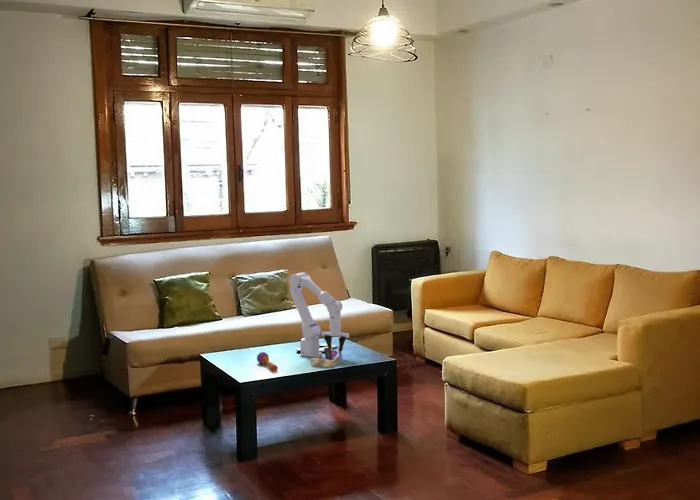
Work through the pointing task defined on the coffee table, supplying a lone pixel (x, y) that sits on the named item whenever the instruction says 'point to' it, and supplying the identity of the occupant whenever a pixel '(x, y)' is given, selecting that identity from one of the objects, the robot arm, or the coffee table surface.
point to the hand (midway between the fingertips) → (335, 350)
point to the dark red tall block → (332, 353)
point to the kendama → (266, 360)
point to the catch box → (324, 361)
